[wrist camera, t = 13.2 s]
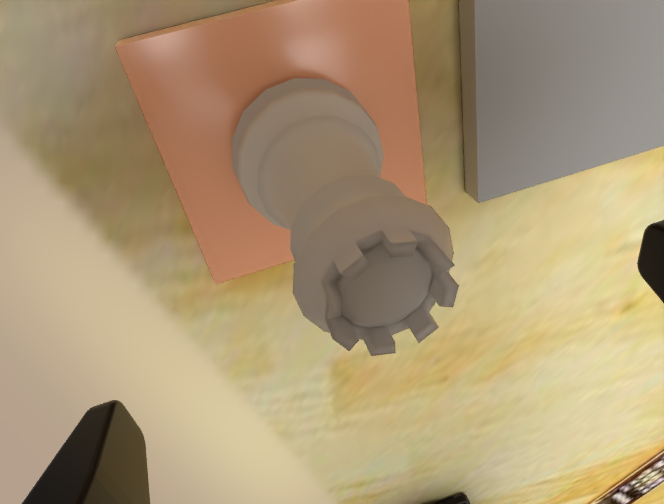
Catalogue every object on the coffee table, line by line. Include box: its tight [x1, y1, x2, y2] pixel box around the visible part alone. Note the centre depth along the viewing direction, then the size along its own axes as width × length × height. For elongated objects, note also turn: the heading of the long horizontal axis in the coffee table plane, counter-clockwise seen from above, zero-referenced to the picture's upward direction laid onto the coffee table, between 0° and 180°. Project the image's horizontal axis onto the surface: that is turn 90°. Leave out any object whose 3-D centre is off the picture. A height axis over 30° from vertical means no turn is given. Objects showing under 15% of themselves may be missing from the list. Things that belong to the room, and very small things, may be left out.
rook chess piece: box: [232, 78, 459, 356], centre depth 12 cm, size 4×4×8 cm
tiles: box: [115, 0, 664, 284], centre depth 16 cm, size 8×18×1 cm, turn 101°
